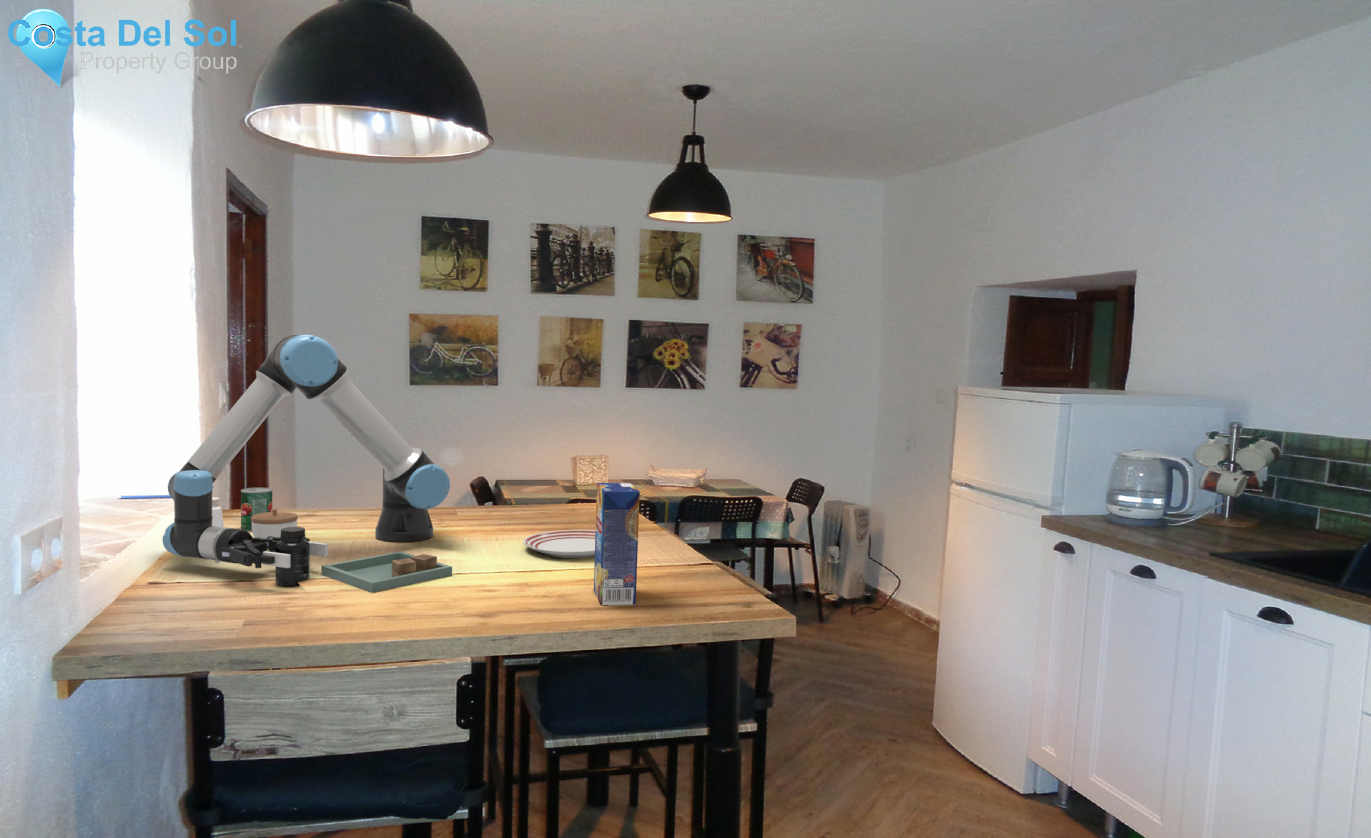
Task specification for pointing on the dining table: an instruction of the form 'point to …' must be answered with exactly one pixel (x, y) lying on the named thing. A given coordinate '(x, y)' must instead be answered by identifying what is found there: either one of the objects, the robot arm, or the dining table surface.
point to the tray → (380, 572)
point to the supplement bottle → (293, 557)
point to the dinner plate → (564, 543)
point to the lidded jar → (272, 523)
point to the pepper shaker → (216, 513)
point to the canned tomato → (254, 504)
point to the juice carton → (616, 543)
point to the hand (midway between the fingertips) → (308, 555)
